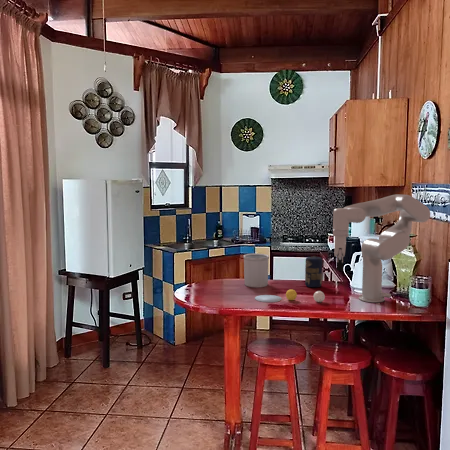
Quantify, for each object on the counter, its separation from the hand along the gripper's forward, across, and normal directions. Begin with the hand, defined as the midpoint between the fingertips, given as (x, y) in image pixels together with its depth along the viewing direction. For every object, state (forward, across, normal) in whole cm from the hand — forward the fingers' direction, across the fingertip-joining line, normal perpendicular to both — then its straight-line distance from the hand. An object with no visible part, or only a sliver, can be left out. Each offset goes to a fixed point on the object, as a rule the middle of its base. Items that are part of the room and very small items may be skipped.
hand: (340, 268), depth 224 cm
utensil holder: (+18, -29, -48) cm, 59 cm away
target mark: (+18, 0, -36) cm, 40 cm away
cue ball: (+15, 0, -10) cm, 18 cm away
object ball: (+15, 0, -24) cm, 28 cm away
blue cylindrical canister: (+18, -33, -15) cm, 40 cm away
